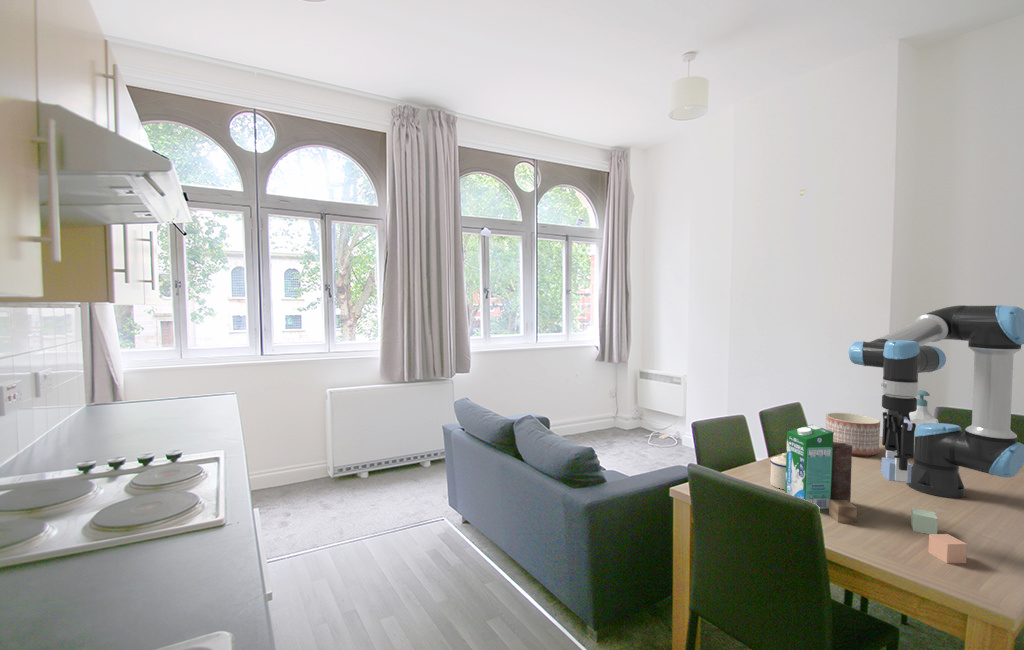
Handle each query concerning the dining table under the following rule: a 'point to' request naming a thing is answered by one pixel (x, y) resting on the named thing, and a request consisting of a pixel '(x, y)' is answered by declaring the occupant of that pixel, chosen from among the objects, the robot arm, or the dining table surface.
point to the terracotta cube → (947, 548)
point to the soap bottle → (922, 412)
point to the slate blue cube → (892, 469)
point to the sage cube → (924, 521)
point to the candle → (841, 471)
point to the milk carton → (810, 464)
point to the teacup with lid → (778, 471)
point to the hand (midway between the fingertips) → (896, 476)
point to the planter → (855, 432)
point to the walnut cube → (842, 511)
